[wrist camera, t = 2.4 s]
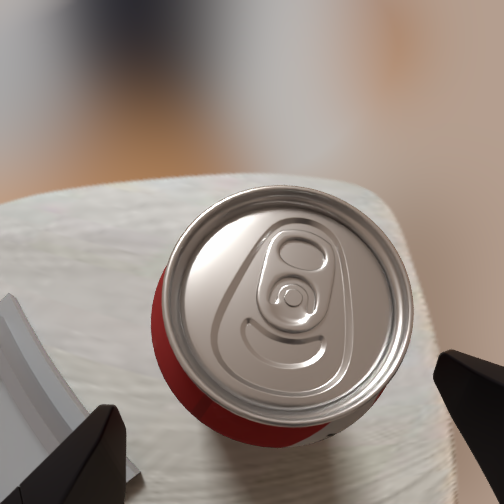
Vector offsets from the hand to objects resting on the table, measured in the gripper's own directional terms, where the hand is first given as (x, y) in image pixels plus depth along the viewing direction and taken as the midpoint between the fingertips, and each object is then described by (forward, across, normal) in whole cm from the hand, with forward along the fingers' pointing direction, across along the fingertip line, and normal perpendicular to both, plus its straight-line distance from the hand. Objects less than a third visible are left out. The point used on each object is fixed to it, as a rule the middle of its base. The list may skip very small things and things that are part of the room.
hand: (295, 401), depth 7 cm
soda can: (+9, 0, +6) cm, 10 cm away
